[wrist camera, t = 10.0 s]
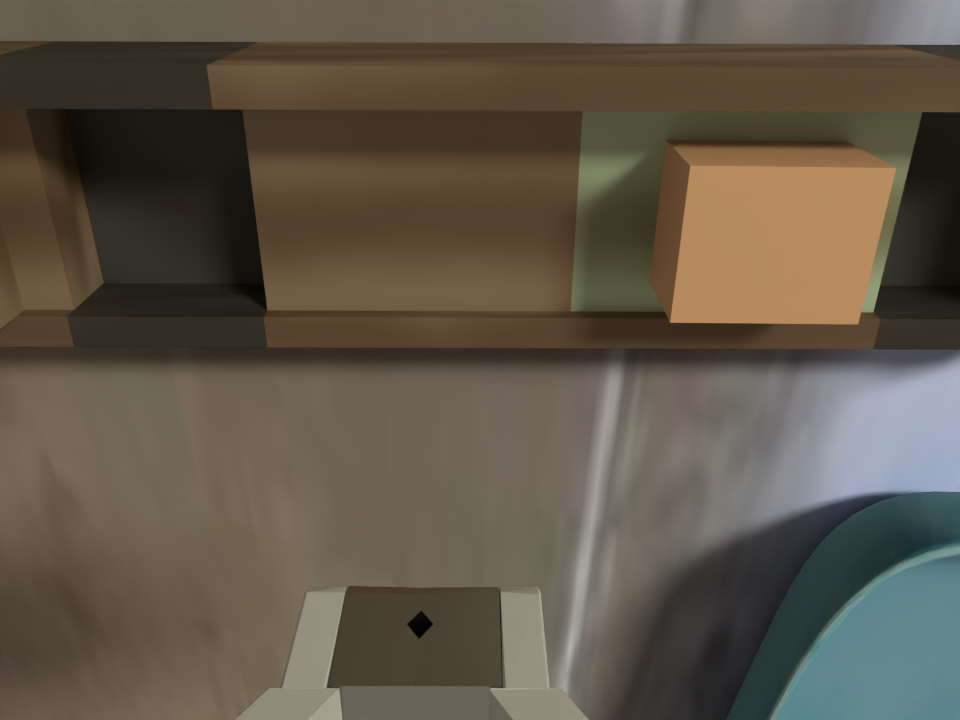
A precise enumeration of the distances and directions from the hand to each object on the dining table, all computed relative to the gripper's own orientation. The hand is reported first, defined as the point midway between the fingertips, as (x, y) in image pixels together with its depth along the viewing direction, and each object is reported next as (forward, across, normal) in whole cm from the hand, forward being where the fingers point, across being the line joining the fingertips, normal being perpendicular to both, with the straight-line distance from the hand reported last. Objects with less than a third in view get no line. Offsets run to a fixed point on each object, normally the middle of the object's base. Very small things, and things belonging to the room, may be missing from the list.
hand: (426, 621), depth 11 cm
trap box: (+22, -3, 0) cm, 22 cm away
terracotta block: (+19, -10, +1) cm, 21 cm away
